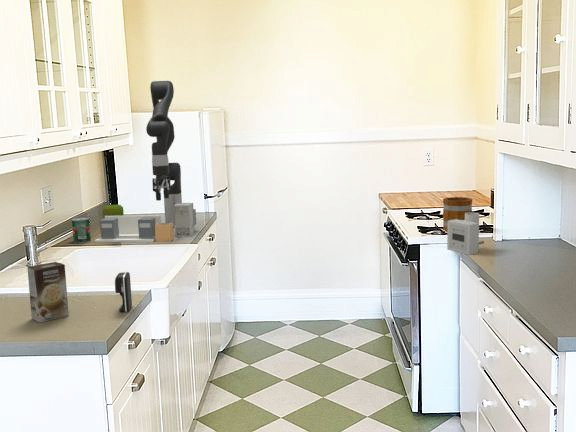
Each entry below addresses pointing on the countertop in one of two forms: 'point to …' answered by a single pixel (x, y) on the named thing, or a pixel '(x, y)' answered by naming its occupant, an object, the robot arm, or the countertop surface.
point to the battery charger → (124, 290)
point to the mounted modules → (112, 230)
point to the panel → (130, 228)
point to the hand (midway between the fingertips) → (162, 199)
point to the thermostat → (464, 234)
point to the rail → (126, 237)
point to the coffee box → (48, 291)
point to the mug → (455, 209)
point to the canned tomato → (81, 230)
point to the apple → (113, 210)
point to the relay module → (164, 232)
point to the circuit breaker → (184, 219)
